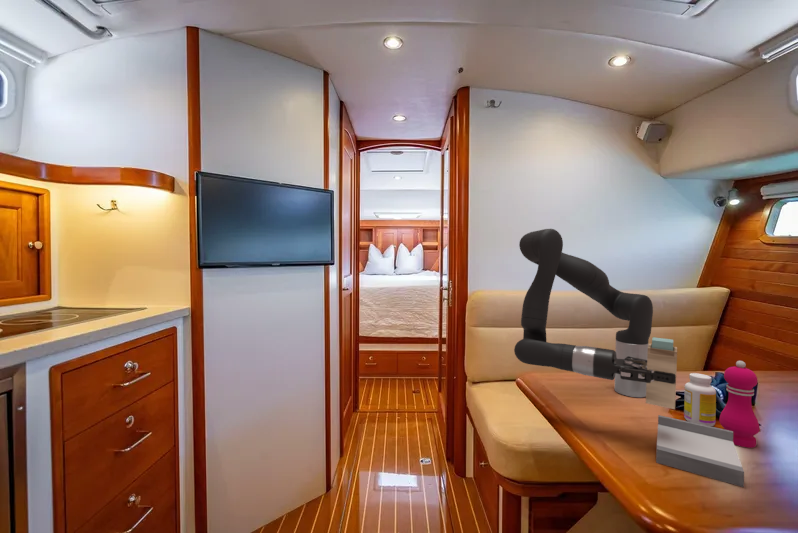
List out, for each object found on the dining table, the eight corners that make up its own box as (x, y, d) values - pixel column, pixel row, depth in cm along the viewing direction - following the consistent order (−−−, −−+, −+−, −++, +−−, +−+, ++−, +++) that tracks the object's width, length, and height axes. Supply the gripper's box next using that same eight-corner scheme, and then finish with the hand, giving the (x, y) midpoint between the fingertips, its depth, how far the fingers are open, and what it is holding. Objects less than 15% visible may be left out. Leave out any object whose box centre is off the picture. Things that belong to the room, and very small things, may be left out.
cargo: (652, 349, 88) (652, 337, 88) (672, 352, 86) (673, 339, 86) (651, 352, 85) (652, 340, 85) (672, 355, 83) (673, 342, 83)
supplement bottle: (719, 424, 98) (720, 377, 98) (709, 429, 95) (710, 381, 95) (689, 414, 104) (691, 370, 104) (679, 419, 101) (680, 374, 100)
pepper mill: (767, 450, 85) (770, 366, 84) (731, 447, 86) (734, 364, 86) (744, 435, 92) (747, 357, 91) (711, 432, 93) (714, 356, 93)
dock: (657, 434, 92) (658, 415, 92) (732, 452, 84) (732, 431, 84) (656, 462, 79) (656, 440, 79) (743, 487, 71) (744, 462, 71)
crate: (647, 396, 90) (649, 343, 89) (675, 401, 86) (677, 347, 86) (645, 403, 85) (647, 347, 85) (675, 409, 82) (677, 351, 82)
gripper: (589, 353, 88) (676, 366, 78) (599, 342, 100) (676, 353, 90) (588, 383, 89) (674, 401, 78) (598, 369, 100) (675, 383, 90)
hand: (675, 375), depth 84 cm, fingers closed on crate, 5 cm apart
